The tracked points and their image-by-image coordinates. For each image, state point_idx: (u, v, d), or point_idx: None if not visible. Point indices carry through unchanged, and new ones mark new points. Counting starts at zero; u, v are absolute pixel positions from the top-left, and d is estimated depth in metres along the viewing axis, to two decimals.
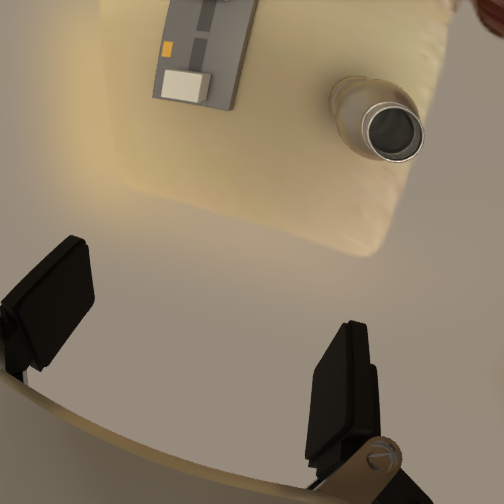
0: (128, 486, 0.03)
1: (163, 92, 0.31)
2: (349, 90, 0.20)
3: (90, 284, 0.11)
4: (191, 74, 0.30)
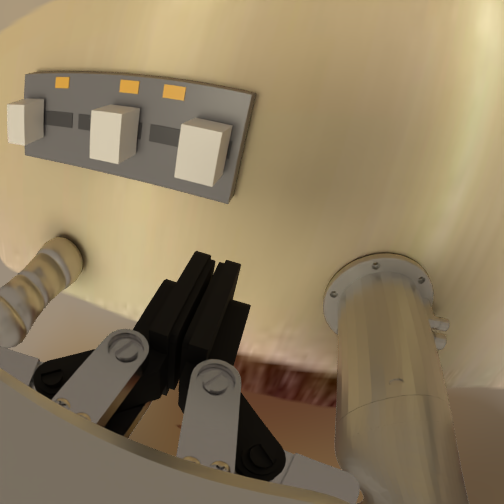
0: (128, 486, 0.03)
1: (9, 106, 0.23)
2: (1, 310, 0.25)
3: None
4: (23, 134, 0.24)
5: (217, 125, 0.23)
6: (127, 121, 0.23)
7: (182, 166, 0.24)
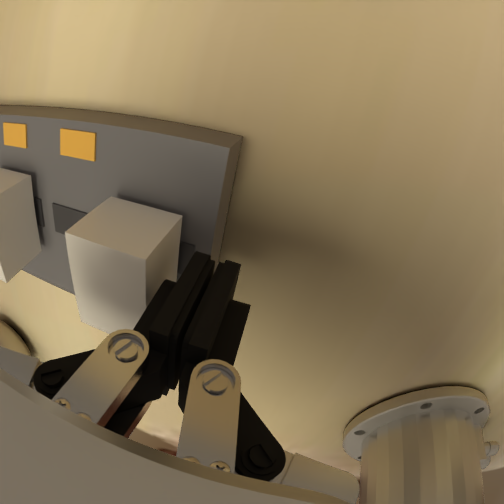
0: (128, 486, 0.03)
1: None
2: None
3: None
4: None
5: (146, 223, 0.11)
6: (4, 209, 0.11)
7: (88, 308, 0.11)
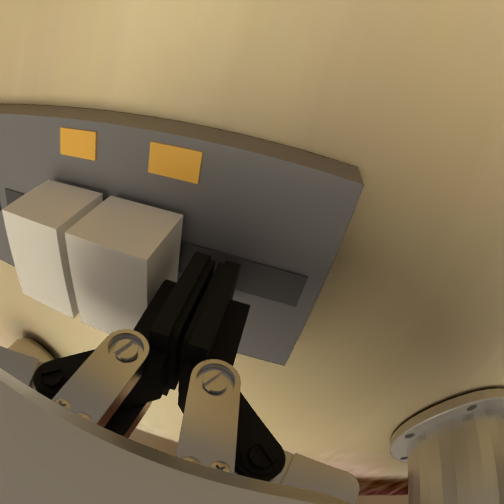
0: (128, 486, 0.03)
1: None
2: None
3: None
4: None
5: (146, 223, 0.11)
6: None
7: (88, 309, 0.11)
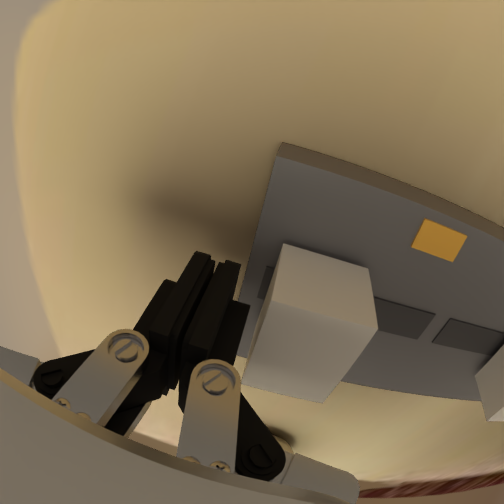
0: (128, 486, 0.03)
1: (288, 311, 0.09)
2: None
3: None
4: (331, 386, 0.10)
5: None
6: None
7: None
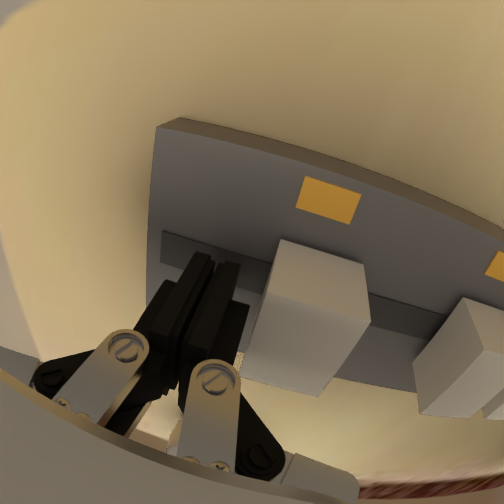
0: (128, 486, 0.03)
1: (283, 302, 0.09)
2: None
3: None
4: (326, 379, 0.11)
5: None
6: None
7: None
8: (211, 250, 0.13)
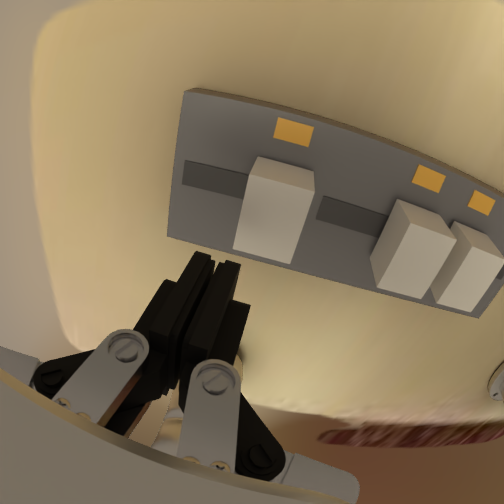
0: (128, 486, 0.03)
1: (259, 181, 0.15)
2: None
3: None
4: (293, 245, 0.17)
5: (485, 240, 0.16)
6: None
7: (451, 292, 0.17)
8: (218, 171, 0.19)
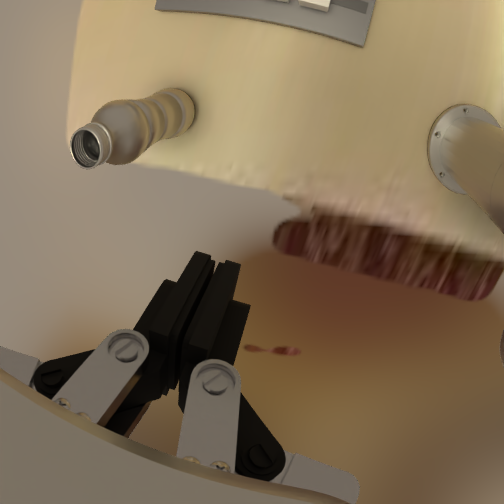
0: (128, 486, 0.03)
1: None
2: (131, 107, 0.25)
3: None
4: None
5: None
6: None
7: None
8: None
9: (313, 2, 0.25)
